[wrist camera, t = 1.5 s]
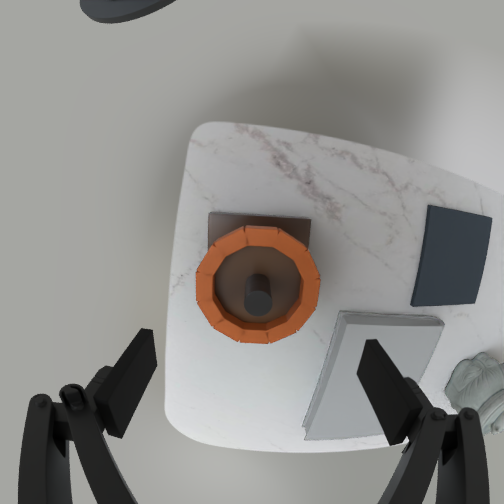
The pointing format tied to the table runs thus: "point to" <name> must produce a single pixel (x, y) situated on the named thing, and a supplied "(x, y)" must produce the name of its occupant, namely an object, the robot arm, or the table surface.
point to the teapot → (479, 390)
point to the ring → (257, 330)
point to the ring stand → (257, 268)
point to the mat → (451, 257)
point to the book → (346, 364)
